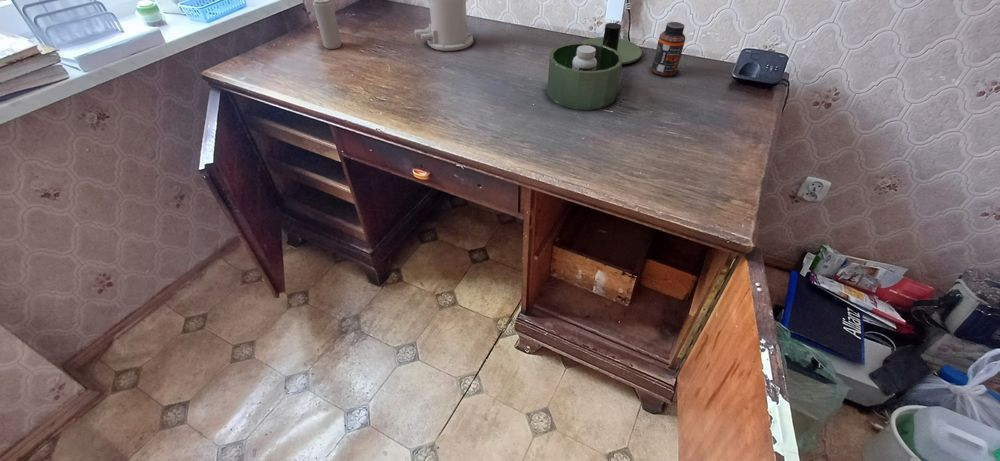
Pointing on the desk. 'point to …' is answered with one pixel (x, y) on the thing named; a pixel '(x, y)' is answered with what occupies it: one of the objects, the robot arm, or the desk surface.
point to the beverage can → (327, 23)
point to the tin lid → (617, 43)
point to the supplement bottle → (669, 49)
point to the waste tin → (583, 78)
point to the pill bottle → (585, 59)
